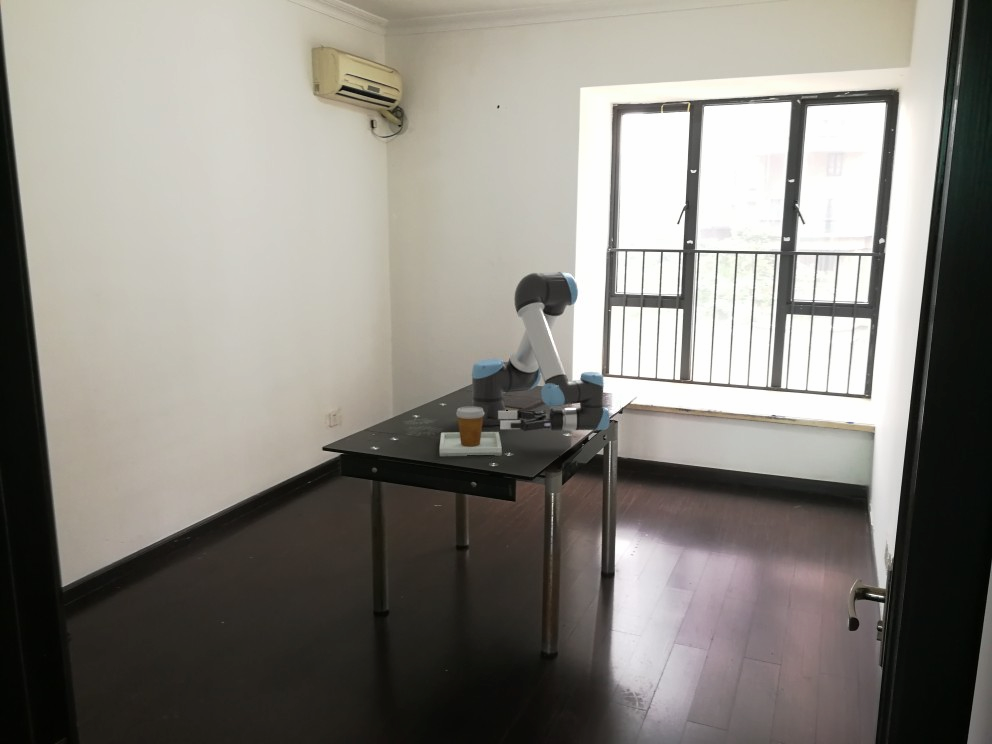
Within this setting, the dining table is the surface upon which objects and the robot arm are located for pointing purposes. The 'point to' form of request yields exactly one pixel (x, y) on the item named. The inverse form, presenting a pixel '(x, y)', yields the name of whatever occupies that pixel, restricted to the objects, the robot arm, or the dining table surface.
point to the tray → (453, 447)
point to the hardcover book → (522, 402)
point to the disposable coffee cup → (470, 425)
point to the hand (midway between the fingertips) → (499, 419)
